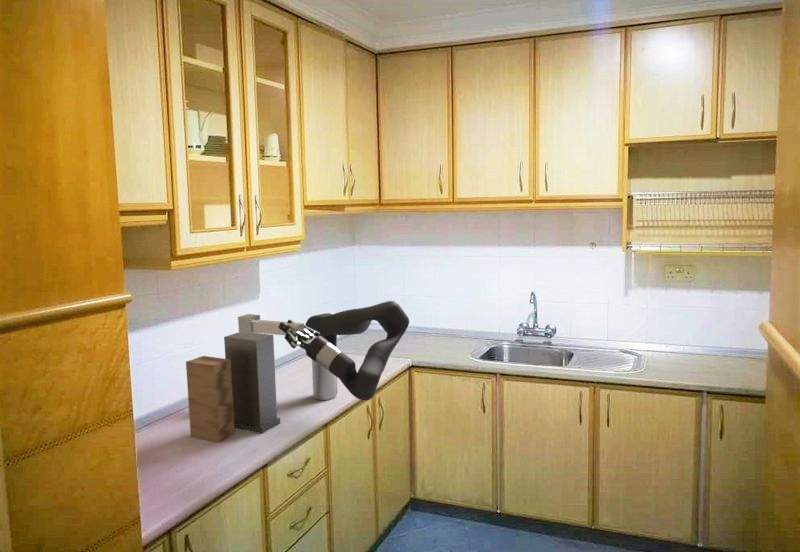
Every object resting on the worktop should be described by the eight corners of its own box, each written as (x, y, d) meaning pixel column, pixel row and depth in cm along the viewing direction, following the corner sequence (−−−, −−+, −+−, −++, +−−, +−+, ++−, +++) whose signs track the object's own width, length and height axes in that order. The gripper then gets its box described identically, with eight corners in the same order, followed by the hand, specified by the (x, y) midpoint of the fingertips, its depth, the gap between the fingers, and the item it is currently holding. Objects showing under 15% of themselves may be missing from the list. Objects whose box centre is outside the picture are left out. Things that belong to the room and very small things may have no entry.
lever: (248, 328, 211) (247, 314, 210) (306, 333, 200) (305, 318, 200) (238, 331, 206) (237, 316, 205) (296, 337, 196) (296, 321, 195)
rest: (208, 428, 218) (203, 355, 214) (234, 434, 212) (230, 359, 209) (190, 436, 211) (185, 361, 207) (217, 442, 205) (213, 365, 202)
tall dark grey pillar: (245, 416, 229) (240, 330, 224) (280, 423, 222) (276, 334, 217) (225, 426, 220) (220, 336, 216) (262, 433, 213) (257, 341, 208)
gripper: (341, 338, 200) (301, 309, 206) (316, 349, 188) (274, 317, 193) (332, 357, 203) (292, 328, 208) (307, 369, 190) (265, 337, 196)
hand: (284, 323), depth 201 cm, fingers closed on lever, 3 cm apart
